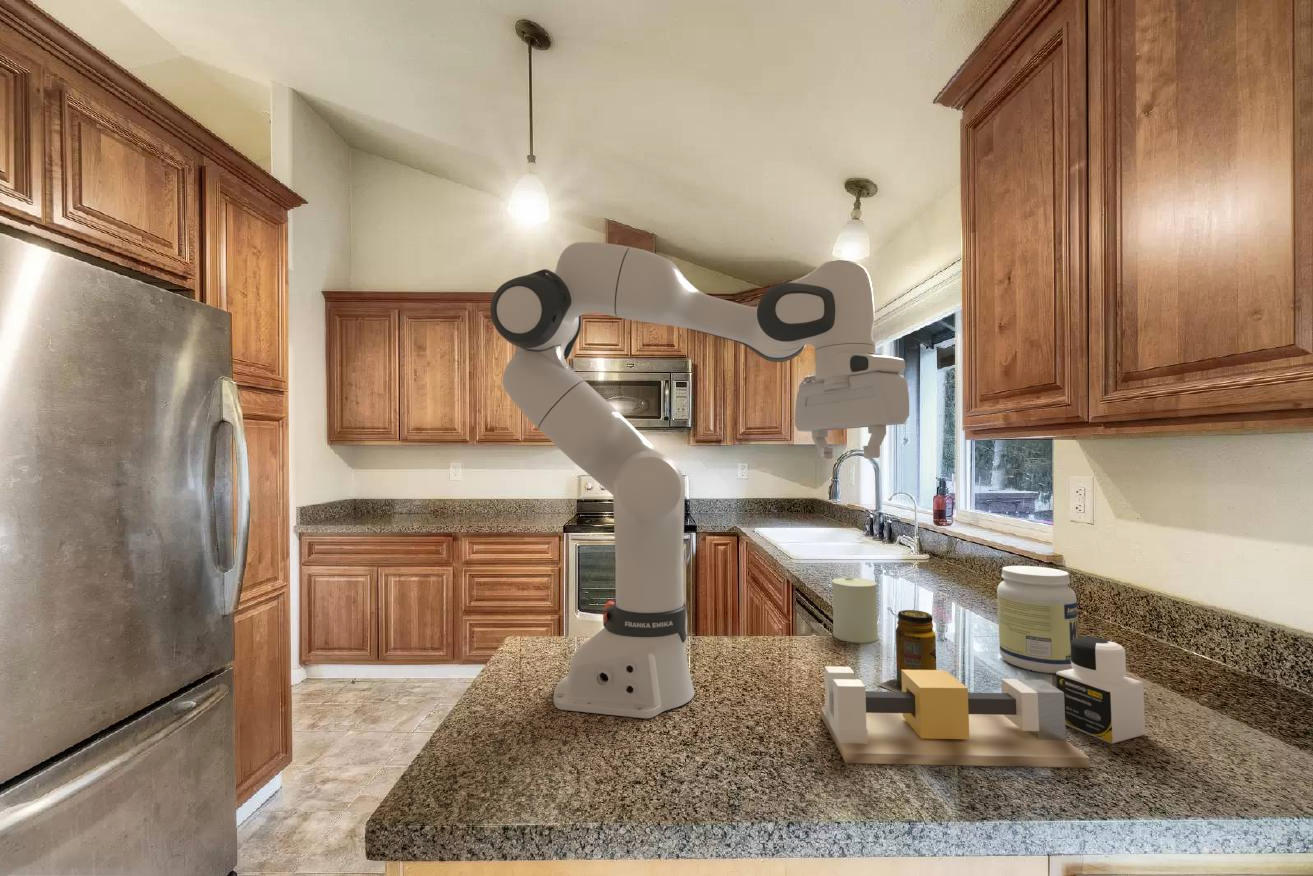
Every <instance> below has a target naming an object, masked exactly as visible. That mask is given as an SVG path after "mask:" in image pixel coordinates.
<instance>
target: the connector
mask: <svg viewBox="0 0 1313 876" xmlns="http://www.w3.org/2000/svg"><path fill="white" fill-rule="evenodd" d="M1016 679H1017V678H1016ZM1017 680H1019V681H1020V682H1022V683H1023V684H1025V685H1026V686H1028V687H1029V688H1031V689H1032V690H1034V691H1036V692H1037V693H1038V715H1039V731H1028V732H1029V733H1031V734H1032V735H1033V736H1034V737H1036V738H1037V739H1038V740H1066V741H1067V736H1066V735H1067V734H1066V732H1067V729H1066V728H1067V727H1066V725H1065V703H1064V692H1062V691H1061V690H1059V689H1057V686H1054V685H1052V684H1051V683H1049V682H1048V681H1046V680H1044V679H1023V678H1022V679H1017Z"/></svg>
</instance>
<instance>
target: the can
mask: <svg viewBox="0 0 1313 876" xmlns="http://www.w3.org/2000/svg"><path fill="white" fill-rule="evenodd" d="M831 585H832V588H831V589H832V610H833V611H832V614H833V615H832V617H833V618H832V619H833V622H832V625H833V627H832V630H833V631H832V636H833V637H834V638H835V639H837V640H840V641H843V642H848V643H856V644H869V643H874V642H877V641H878V640H879V638H880V637H879V631H878V629H879V628H878V603H877V601H878V598H877V592H878V591H877V589H878V588H877V587H878V586H877V585H878V583H877V582H876V581H875V580H872V579H867V578H861V577H838V578H834V579H832V580H831Z"/></svg>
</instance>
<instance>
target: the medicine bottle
mask: <svg viewBox="0 0 1313 876" xmlns="http://www.w3.org/2000/svg"><path fill="white" fill-rule="evenodd" d="M1070 643H1071V666H1072V667H1073V669H1068V670H1063V671H1058V672H1057V673H1055V674H1056V675H1055V676H1056V688H1057V689H1059V690H1061V691H1062V692H1064V703H1065V726H1067V727H1070V728H1072V729H1073V730H1077V731H1079V732H1080V733H1081V732H1082V733H1083V734H1086V735H1088V736H1091V737H1093V738H1096V739H1099V740H1101V741H1103V742H1105V743H1108V744H1110V745H1112V744H1117V743H1120V742H1124V741H1128V740H1131V739H1135V738H1138V737H1141V736H1142V737H1143V736H1144V735H1146V717H1145V713H1146V712H1145V695H1144V694H1145V693H1144V690H1145V689H1144V683H1143V682H1142V681H1141V680H1137V679H1134V678H1132V677H1127V664H1126V663H1127V662H1126V661H1127V659H1126V649H1125V648H1124V647H1123V645H1120V644H1119V643H1117V642H1115V641H1113V640H1110V639H1105V638H1102V637H1093V636H1081V637H1080V636H1078V638H1075V639H1073V640H1072V641H1071V642H1070Z"/></svg>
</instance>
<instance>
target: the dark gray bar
mask: <svg viewBox="0 0 1313 876" xmlns="http://www.w3.org/2000/svg"><path fill="white" fill-rule="evenodd" d="M865 691H866V690H865ZM833 706H834V697H833ZM968 711H969V714H991V715H1016V699H1015V698H1013V697H1012V696H1011V695H1009V694H1008V693H1002V692H968ZM866 713H915V695H914V694H913V693H912V692H894V691H866Z"/></svg>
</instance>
